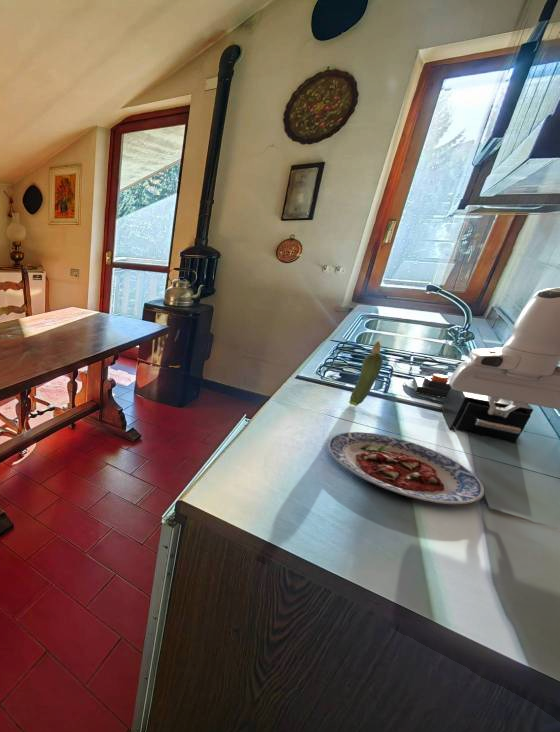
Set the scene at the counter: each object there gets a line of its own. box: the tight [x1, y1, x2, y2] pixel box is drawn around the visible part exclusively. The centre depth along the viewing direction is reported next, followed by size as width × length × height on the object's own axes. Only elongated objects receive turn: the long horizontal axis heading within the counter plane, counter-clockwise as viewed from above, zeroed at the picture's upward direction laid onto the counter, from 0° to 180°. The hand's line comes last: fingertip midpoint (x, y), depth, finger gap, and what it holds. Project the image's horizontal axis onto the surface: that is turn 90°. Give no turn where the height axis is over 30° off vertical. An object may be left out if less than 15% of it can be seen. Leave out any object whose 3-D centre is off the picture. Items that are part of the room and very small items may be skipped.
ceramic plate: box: [327, 431, 485, 505], centre depth 84 cm, size 26×26×3 cm
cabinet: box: [440, 387, 534, 432], centre depth 102 cm, size 15×12×10 cm
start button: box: [431, 373, 450, 383], centre depth 122 cm, size 4×4×2 cm
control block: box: [411, 375, 451, 399], centre depth 123 cm, size 10×10×4 cm
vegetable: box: [348, 340, 384, 407], centre depth 110 cm, size 4×4×20 cm
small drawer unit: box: [455, 400, 532, 444], centre depth 98 cm, size 18×10×8 cm, turn 144°
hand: (496, 415), depth 93 cm, fingers closed
